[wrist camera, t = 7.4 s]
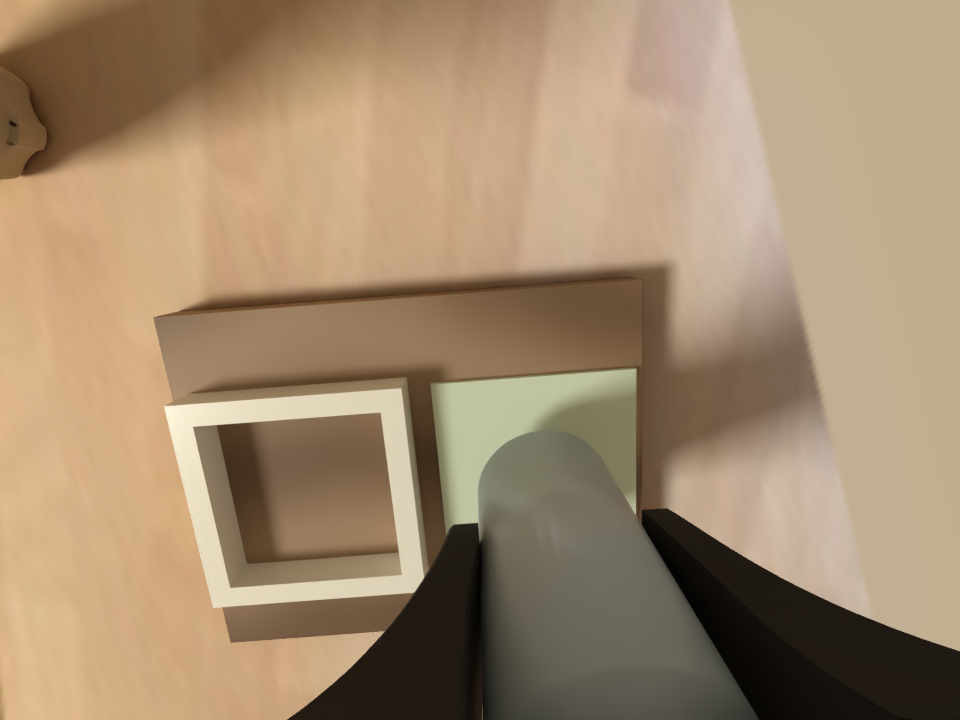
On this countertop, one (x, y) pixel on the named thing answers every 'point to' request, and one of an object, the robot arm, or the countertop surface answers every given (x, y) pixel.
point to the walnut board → (359, 438)
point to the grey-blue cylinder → (584, 599)
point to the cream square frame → (216, 511)
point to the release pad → (530, 426)
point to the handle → (17, 126)
